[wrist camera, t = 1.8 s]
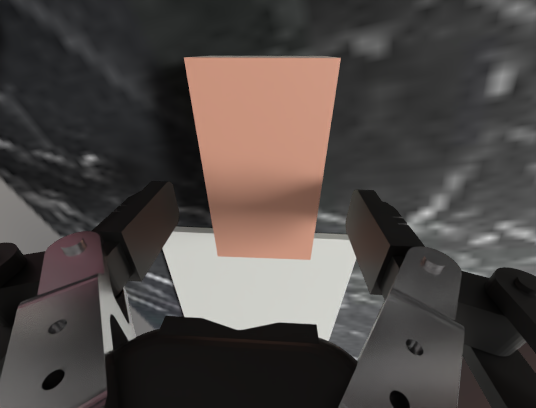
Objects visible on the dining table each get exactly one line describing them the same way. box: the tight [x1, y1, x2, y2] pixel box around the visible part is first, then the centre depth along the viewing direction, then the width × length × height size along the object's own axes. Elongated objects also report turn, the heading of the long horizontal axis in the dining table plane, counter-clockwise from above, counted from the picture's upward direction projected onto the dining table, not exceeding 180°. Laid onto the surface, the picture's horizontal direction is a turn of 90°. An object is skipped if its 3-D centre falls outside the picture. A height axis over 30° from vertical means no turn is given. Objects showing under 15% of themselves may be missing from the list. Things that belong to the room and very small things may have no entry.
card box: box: [184, 56, 341, 260], centre depth 12 cm, size 10×6×4 cm, turn 0°
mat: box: [162, 226, 356, 341], centre depth 21 cm, size 15×15×1 cm
